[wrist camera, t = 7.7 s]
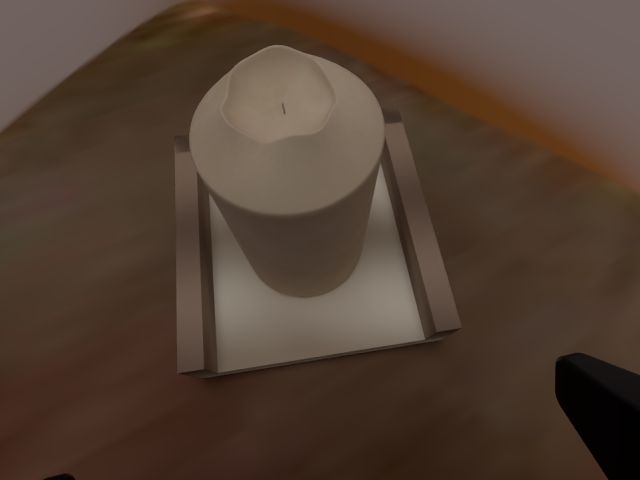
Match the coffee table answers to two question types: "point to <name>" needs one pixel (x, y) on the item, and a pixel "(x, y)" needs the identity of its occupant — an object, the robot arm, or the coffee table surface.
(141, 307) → the coffee table surface
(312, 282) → the candle
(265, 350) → the dock bay
